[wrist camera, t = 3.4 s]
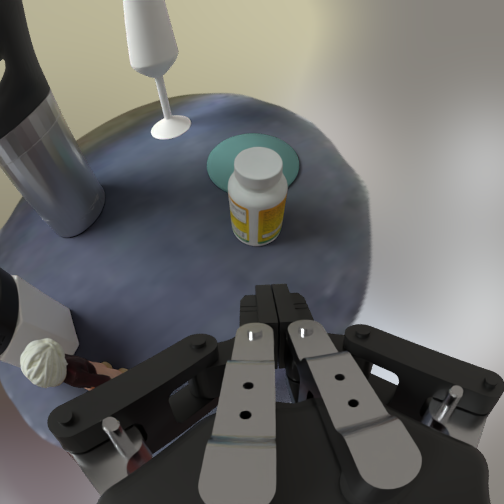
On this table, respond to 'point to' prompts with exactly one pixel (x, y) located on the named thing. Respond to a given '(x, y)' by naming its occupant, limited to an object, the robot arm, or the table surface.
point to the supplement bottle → (257, 196)
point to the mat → (227, 150)
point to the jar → (31, 319)
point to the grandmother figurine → (62, 367)
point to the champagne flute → (154, 55)
